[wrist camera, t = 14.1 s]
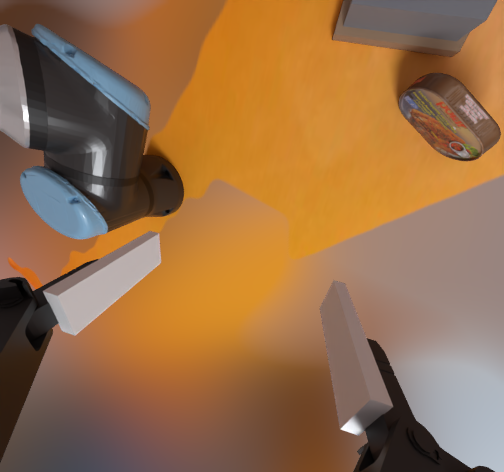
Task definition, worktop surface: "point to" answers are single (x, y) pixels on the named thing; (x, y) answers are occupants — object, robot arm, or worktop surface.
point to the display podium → (411, 23)
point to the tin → (449, 117)
